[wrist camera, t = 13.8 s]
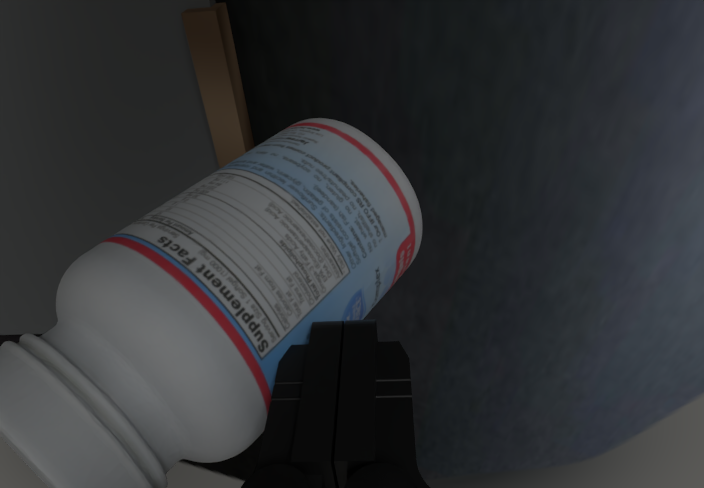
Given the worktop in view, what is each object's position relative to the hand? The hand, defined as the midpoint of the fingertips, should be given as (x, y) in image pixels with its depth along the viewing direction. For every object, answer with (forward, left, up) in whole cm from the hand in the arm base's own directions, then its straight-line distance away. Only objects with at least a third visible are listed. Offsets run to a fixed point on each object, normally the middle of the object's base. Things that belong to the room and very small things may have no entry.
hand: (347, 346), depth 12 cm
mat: (0, -11, -8) cm, 14 cm away
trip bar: (0, -4, -8) cm, 9 cm away
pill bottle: (0, 0, -7) cm, 7 cm away
